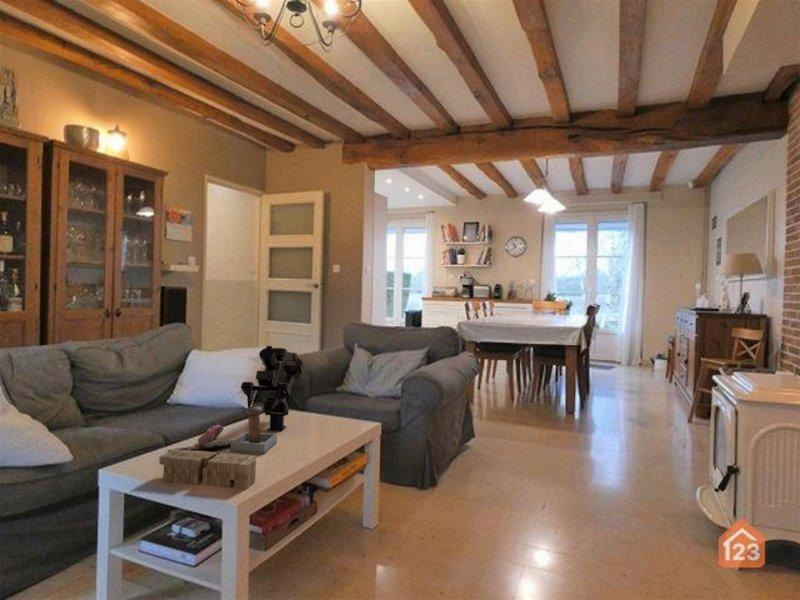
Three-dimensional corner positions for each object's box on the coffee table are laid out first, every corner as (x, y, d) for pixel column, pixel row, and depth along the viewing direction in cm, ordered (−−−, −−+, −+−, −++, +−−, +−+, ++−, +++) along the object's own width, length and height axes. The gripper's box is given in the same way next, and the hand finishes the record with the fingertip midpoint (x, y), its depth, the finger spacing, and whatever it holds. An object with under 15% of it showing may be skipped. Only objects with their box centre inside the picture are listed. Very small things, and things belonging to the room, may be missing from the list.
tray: (245, 441, 186) (245, 432, 186) (276, 442, 185) (277, 433, 185) (230, 452, 174) (230, 442, 174) (264, 454, 172) (264, 444, 172)
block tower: (259, 482, 150) (174, 471, 155) (260, 456, 150) (175, 445, 155) (246, 493, 142) (158, 481, 147) (248, 465, 142) (159, 454, 147)
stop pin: (256, 441, 183) (255, 405, 183) (265, 443, 180) (264, 407, 180) (243, 445, 179) (242, 409, 179) (253, 447, 176) (252, 410, 175)
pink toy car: (205, 448, 182) (213, 432, 181) (196, 442, 182) (203, 426, 182) (220, 440, 191) (227, 425, 191) (210, 434, 192) (218, 419, 191)
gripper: (242, 361, 190) (229, 395, 179) (288, 362, 188) (278, 397, 177) (250, 377, 198) (239, 411, 187) (295, 379, 196) (285, 413, 185)
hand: (260, 407), depth 184 cm, fingers open, 9 cm apart
